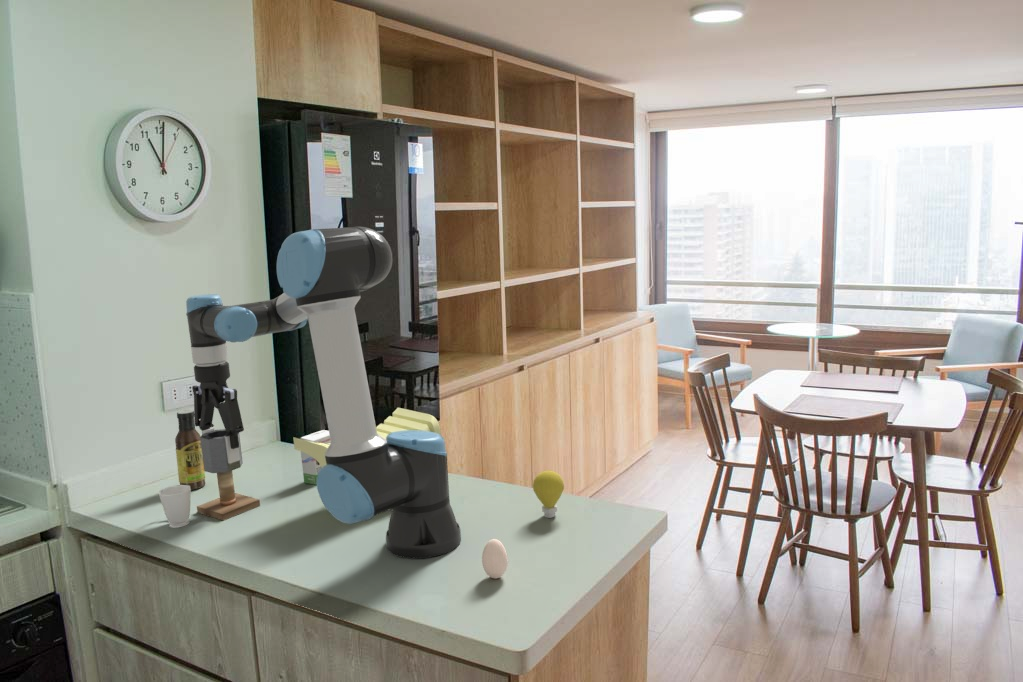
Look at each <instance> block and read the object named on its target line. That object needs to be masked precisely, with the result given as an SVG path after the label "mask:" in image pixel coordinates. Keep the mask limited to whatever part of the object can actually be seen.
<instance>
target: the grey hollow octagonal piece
mask: <svg viewBox="0 0 1023 682" xmlns="http://www.w3.org/2000/svg"><path fill="white" fill-rule="evenodd" d="M225 434H227V432H226V430H225V428H221V429H220V428H219V429H214V431H210V432H207V433H204V434H203V435H202V434H201V435H200V441H201V449H202V457H203V465H204V471H205V473H211V474H217V473H222V472H229V471H232V472H233V471H235V470H237V469H240V468H242V466H243V464H244V463H243V453H242V452H243V451H242V446H241V436H240V432H239V433H238V441H239V455H240V460H239V461H236V462H233V463H228V458H227V450H226V442H225Z"/></svg>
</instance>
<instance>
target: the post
mask: <svg viewBox="0 0 1023 682" xmlns="http://www.w3.org/2000/svg"><path fill="white" fill-rule="evenodd" d="M233 474H234V473H233V470H232V471H229V472H222V473H216V477H217V485H218V493H219V495H218V496H219V497H218V498H215V499H213V500H210V501H207V502H205V503H203V504H202V503H201V504H199V505H197V506H196V511H197V513H198V514H201V515H204V516H207V517H211V518H214V519H218V520H221V521H226V520H228V519H230V518H232V517H235V516H238V515H240V514H243V513H245V512H247V511H250V510H253V509H255V508H257V507H260V506H261V502H260V499H258V498H255V497H252V496H248V495H245V494H241V493H236V491H235V483H234V477H233V476H234V475H233Z"/></svg>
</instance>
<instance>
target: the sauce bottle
mask: <svg viewBox="0 0 1023 682" xmlns="http://www.w3.org/2000/svg"><path fill="white" fill-rule="evenodd" d="M176 418H177V420H178V421H177V422H178V431H177V434H176V436H175V438H174V441H175V453H176V454H175V456H176V463H177V464H176V465H177V474H178V475H177V476H178V482H179V485H189V486H190V488H191V491H192V490H193V491H194V490H198V489H200V488H203V487H204V486H206V481H205V480H206V474H205V473H206V471H204V465H203V457H202V449H201V441H200V437H201V435H200V433H199V432H198V430H196V426H195V421H194V409H182V410H179V411H177V412H176Z"/></svg>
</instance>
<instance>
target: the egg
mask: <svg viewBox="0 0 1023 682" xmlns="http://www.w3.org/2000/svg"><path fill="white" fill-rule="evenodd" d="M481 563H482V565H481V566H482V568H483V571H484V572H485V574H486V575H487V576H488V577H490V578H491V579H499V578H501V577H503V576H504V574H505V572H506V571H507V568H508V563H509V561H508V554H507V550H506V548H505V546H504V545H503V543H502V542H501V541H500V540H499V539H496V538H492V539H490V540H488V541H487V542H486V544H485V545H484V547H483V550H482V555H481Z"/></svg>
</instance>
